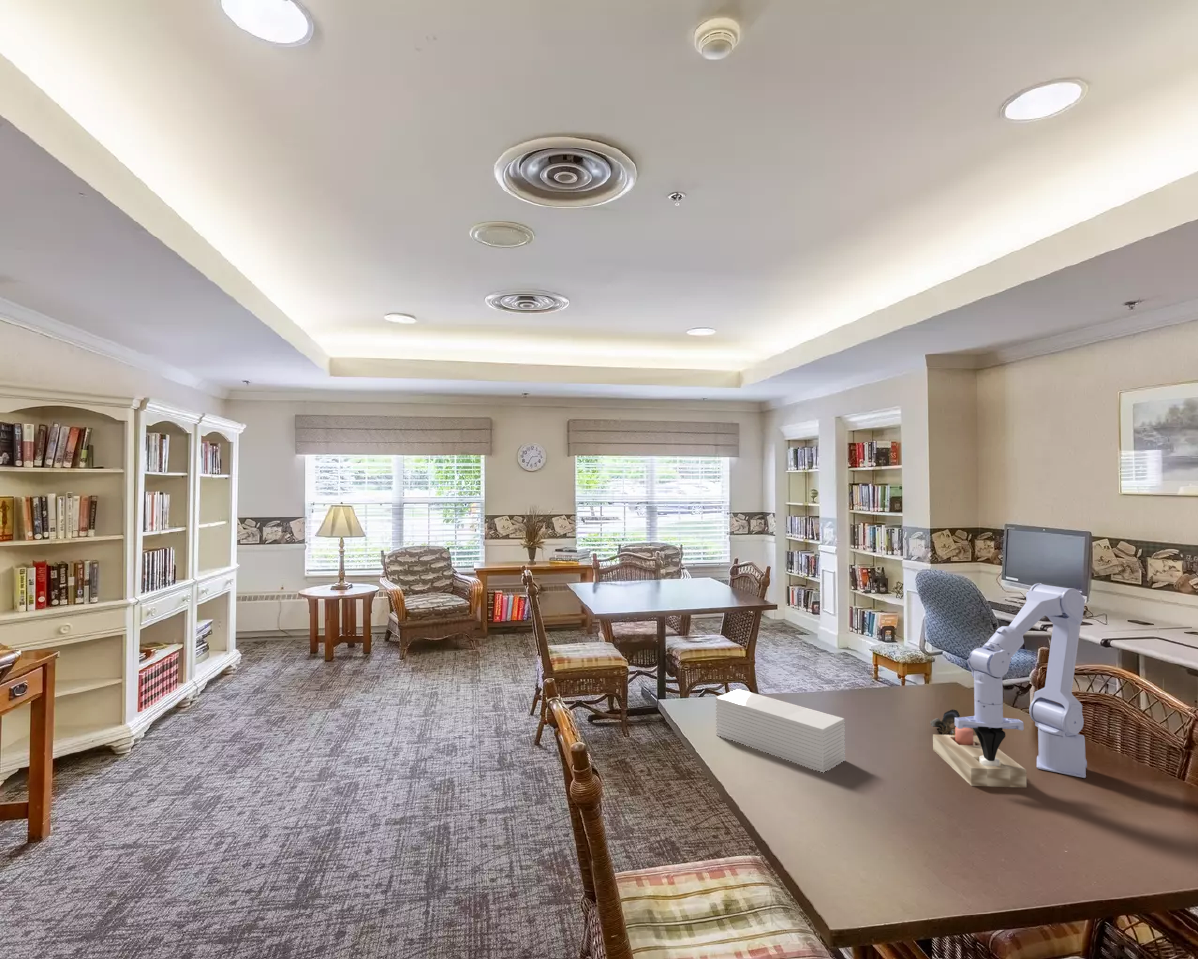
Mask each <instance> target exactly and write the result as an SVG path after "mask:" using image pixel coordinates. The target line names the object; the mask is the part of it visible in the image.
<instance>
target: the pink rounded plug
mask: <svg viewBox="0 0 1198 959" xmlns="http://www.w3.org/2000/svg"><path fill="white" fill-rule="evenodd" d="M954 731H955V732H954V734H955V742H956V743H957V744H958V745H974V737H973V736H974V729H973V728H963V729H959V728H957V727H955V729H954Z"/></svg>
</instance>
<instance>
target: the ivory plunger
mask: <svg viewBox="0 0 1198 959" xmlns="http://www.w3.org/2000/svg"><path fill="white" fill-rule="evenodd" d="M979 762H980V763H981V764H982V765H983V766H999V759H997V758H995V760H994V761H988V760H987V759H986V758H984V755H982V756H980V757H979Z"/></svg>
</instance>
